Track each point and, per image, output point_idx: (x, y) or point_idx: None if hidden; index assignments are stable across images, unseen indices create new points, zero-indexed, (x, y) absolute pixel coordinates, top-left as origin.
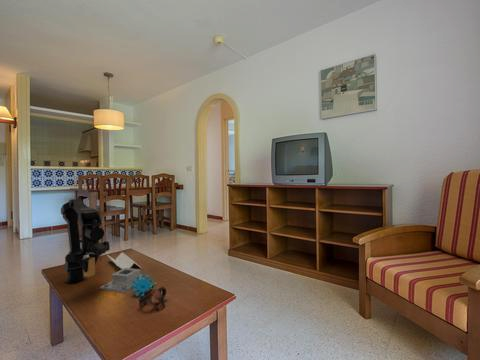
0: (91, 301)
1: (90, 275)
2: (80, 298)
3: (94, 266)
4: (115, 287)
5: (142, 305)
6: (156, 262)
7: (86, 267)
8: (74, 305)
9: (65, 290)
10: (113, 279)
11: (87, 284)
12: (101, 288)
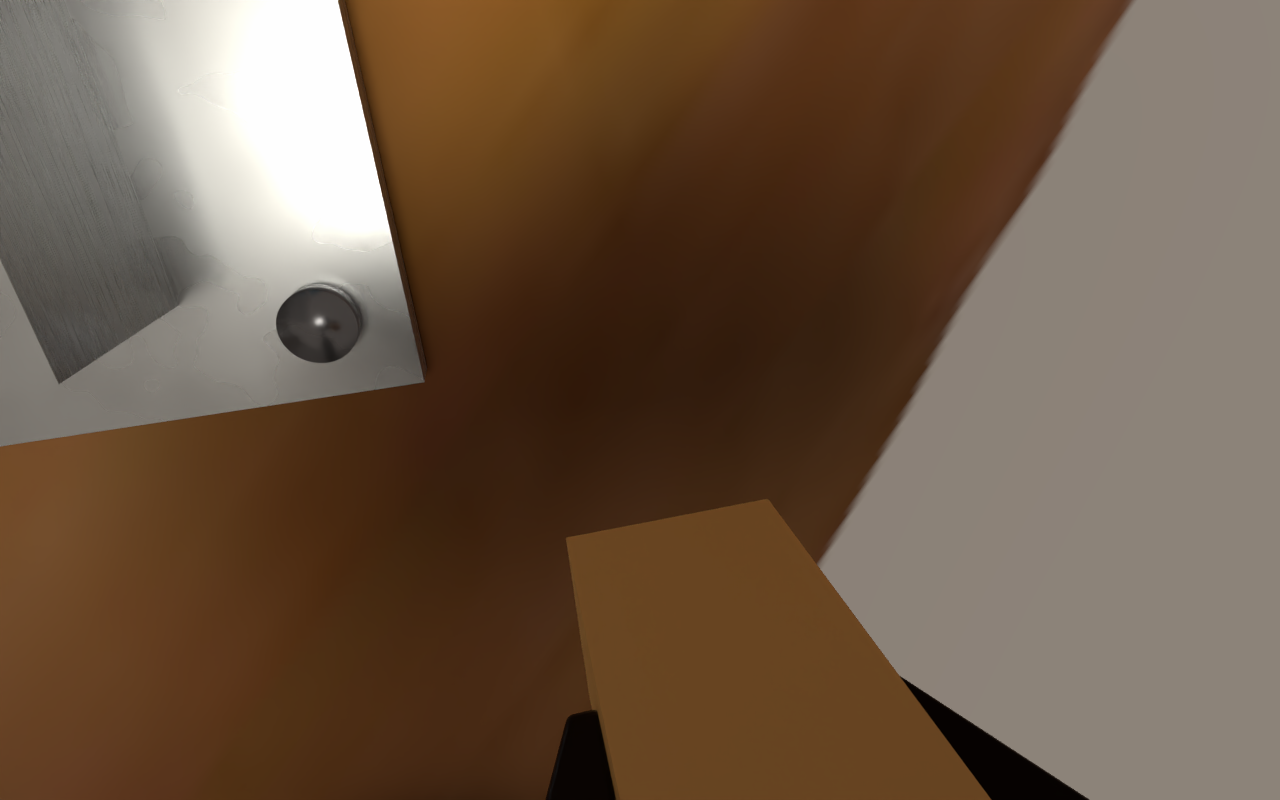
0: (809, 75)
1: (732, 524)
2: (780, 349)
3: (643, 748)
4: (252, 27)
5: None
6: None
7: (1008, 771)
8: (957, 224)
9: None
10: (108, 278)
11: (420, 688)
12: (418, 341)
